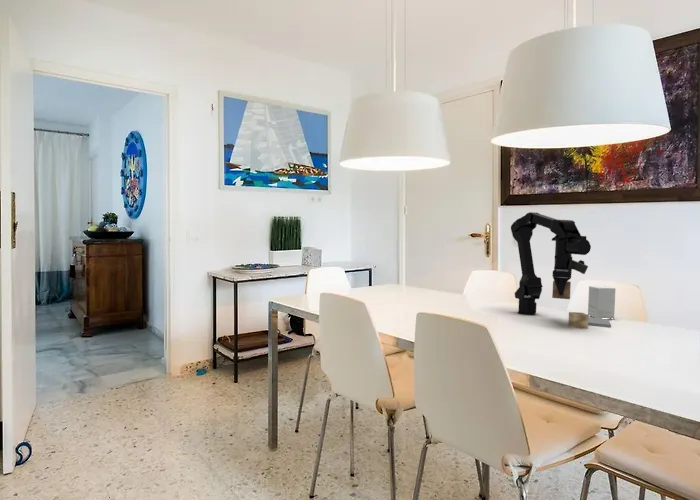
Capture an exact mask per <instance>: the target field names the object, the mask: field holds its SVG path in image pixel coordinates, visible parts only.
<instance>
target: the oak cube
mask: <svg viewBox="0 0 700 500" xmlns="http://www.w3.org/2000/svg"><path fill="white" fill-rule="evenodd" d="M589 317H590V316H589V315H588V313H585V312H578V311H575V312H573V311H569V312H568V321H567V322H568V324H567V325H568V326H569V327H571V328H573V329H589V325H588V318H589Z"/></svg>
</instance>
